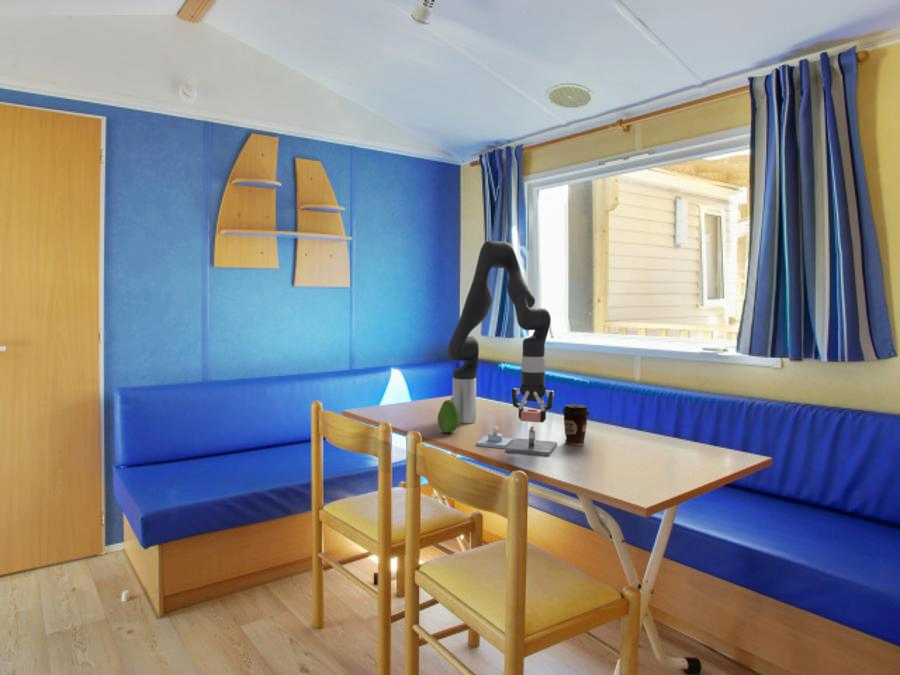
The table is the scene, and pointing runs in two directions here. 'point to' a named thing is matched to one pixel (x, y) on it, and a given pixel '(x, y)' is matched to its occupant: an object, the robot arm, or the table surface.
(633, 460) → the table surface
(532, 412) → the salmon square frame
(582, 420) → the coffee cup
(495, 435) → the stand
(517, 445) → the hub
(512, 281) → the robot arm
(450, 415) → the avocado
